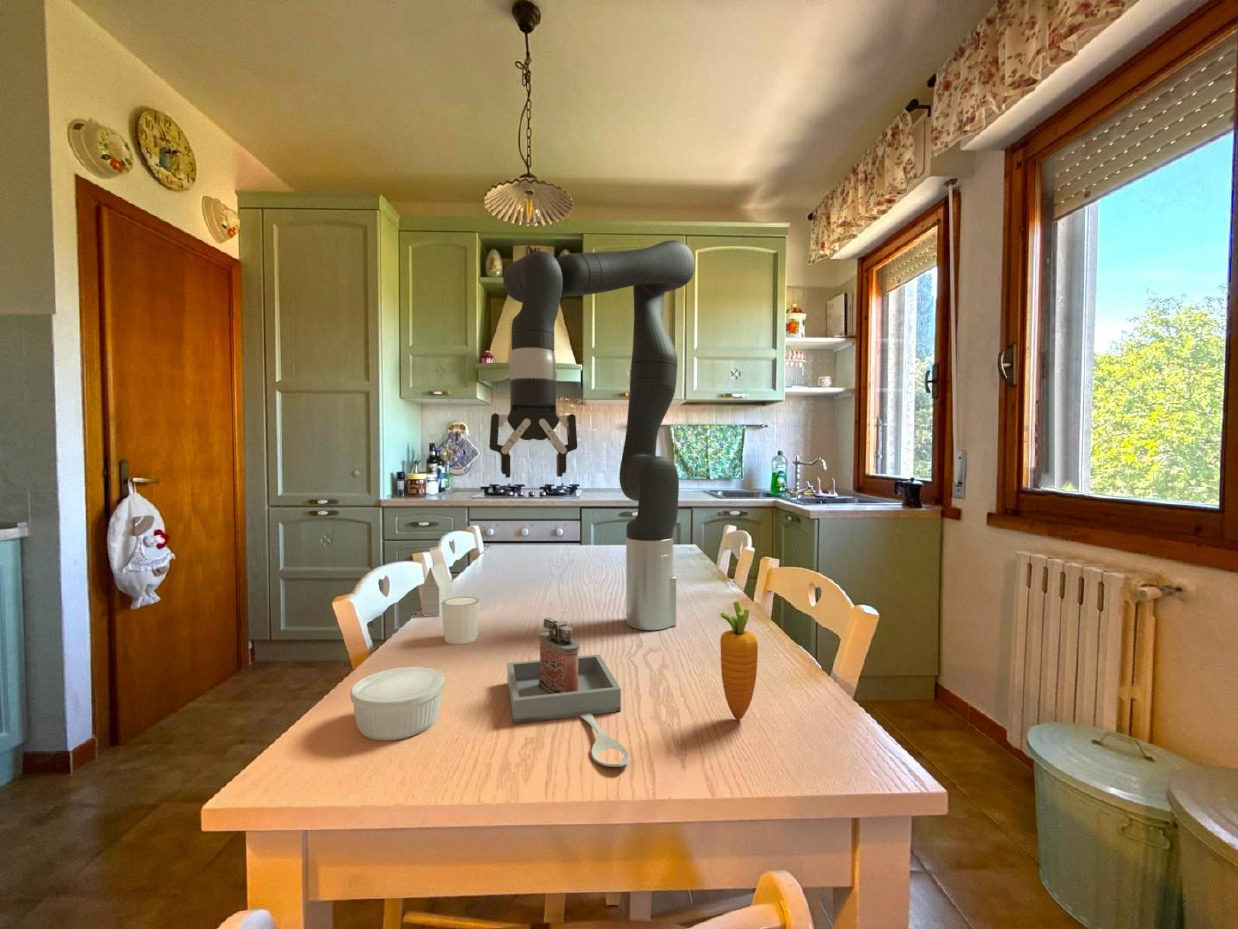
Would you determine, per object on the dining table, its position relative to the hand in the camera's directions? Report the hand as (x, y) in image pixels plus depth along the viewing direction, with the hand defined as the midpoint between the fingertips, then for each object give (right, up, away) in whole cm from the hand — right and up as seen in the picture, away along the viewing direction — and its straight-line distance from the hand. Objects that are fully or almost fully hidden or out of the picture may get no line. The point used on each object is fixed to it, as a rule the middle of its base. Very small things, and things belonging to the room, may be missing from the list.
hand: (533, 476), depth 94 cm
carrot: (+29, -31, -21) cm, 48 cm away
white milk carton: (-25, -30, +27) cm, 47 cm away
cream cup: (-15, -30, +10) cm, 35 cm away
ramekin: (-14, -31, -22) cm, 41 cm away
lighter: (+6, -30, -15) cm, 34 cm away
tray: (+6, -31, -15) cm, 34 cm away
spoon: (+11, -32, -24) cm, 41 cm away
